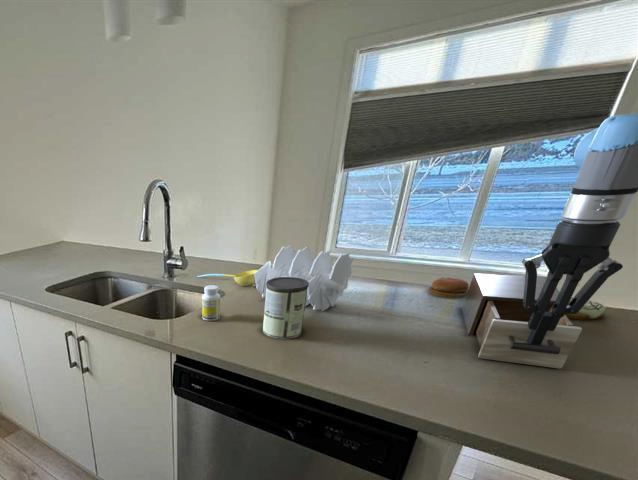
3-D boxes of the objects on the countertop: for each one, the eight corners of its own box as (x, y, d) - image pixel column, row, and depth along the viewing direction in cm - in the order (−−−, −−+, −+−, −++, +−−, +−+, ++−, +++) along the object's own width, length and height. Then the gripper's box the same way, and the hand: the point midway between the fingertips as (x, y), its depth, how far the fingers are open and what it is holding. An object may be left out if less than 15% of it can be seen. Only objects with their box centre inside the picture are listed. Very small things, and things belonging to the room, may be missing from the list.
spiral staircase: (273, 305, 140) (345, 318, 122) (245, 295, 129) (319, 308, 110) (290, 252, 136) (366, 257, 118) (262, 237, 125) (342, 241, 107)
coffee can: (271, 323, 117) (276, 275, 110) (307, 330, 111) (315, 279, 103) (255, 335, 110) (259, 285, 103) (292, 343, 104) (299, 290, 97)
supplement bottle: (211, 313, 127) (211, 283, 122) (223, 318, 123) (224, 287, 118) (198, 318, 125) (198, 287, 120) (210, 322, 121) (210, 291, 116)
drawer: (568, 381, 78) (591, 339, 74) (481, 368, 85) (497, 330, 80) (541, 334, 95) (557, 299, 91) (469, 327, 102) (482, 293, 97)
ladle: (251, 288, 143) (249, 272, 141) (194, 292, 163) (191, 278, 160) (264, 281, 147) (262, 265, 145) (207, 285, 167) (204, 272, 165)
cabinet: (547, 346, 92) (569, 302, 87) (467, 337, 99) (483, 295, 94) (529, 316, 106) (547, 277, 101) (460, 310, 113) (474, 273, 108)
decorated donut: (603, 325, 99) (611, 311, 97) (543, 318, 105) (549, 304, 103) (598, 312, 105) (605, 298, 103) (542, 305, 111) (548, 292, 110)
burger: (445, 301, 120) (450, 285, 118) (420, 292, 128) (424, 277, 126) (474, 297, 121) (480, 281, 119) (448, 288, 129) (453, 274, 127)
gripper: (543, 224, 69) (493, 347, 81) (655, 223, 63) (583, 357, 75) (534, 216, 75) (488, 333, 87) (636, 215, 68) (572, 341, 80)
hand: (533, 344), depth 81 cm, fingers closed
